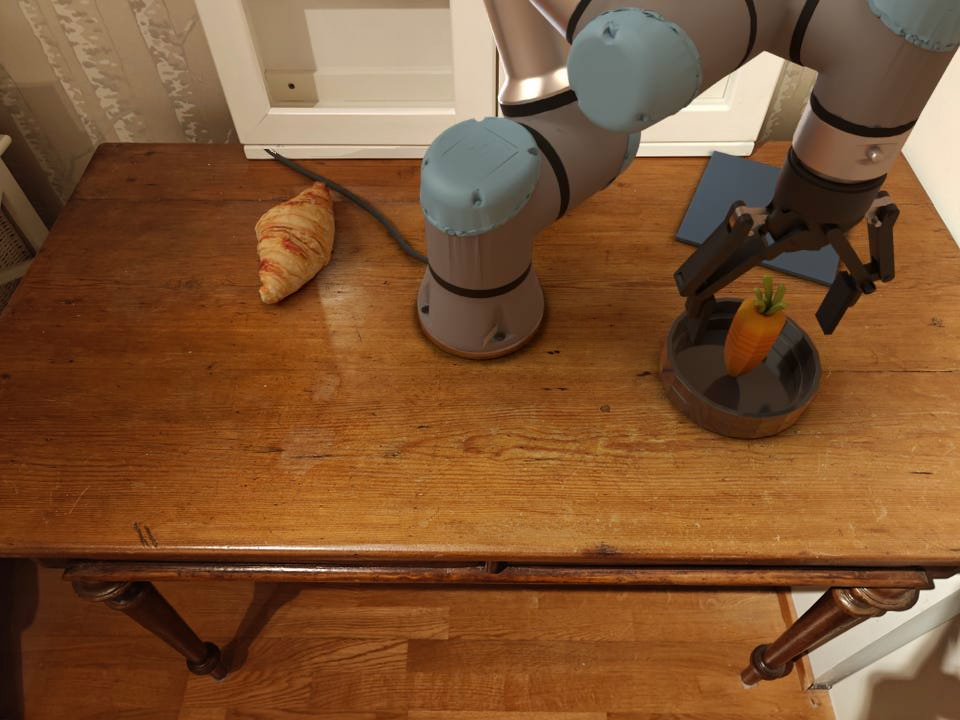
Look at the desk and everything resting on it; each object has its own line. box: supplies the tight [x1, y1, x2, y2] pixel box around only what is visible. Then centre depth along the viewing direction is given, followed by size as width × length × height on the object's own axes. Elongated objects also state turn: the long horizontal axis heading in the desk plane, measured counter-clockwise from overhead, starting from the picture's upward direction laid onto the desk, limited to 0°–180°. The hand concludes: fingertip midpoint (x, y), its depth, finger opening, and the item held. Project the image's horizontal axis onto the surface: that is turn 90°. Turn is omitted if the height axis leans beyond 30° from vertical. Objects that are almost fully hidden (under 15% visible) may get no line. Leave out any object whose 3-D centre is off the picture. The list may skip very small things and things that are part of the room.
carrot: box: [724, 273, 789, 377], centre depth 73 cm, size 5×5×15 cm
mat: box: [675, 150, 847, 288], centre depth 95 cm, size 20×20×1 cm
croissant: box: [254, 181, 336, 305], centre depth 89 cm, size 21×10×8 cm, turn 170°
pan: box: [658, 296, 823, 440], centre depth 77 cm, size 16×16×4 cm
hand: (758, 329), depth 72 cm, fingers open, 13 cm apart
